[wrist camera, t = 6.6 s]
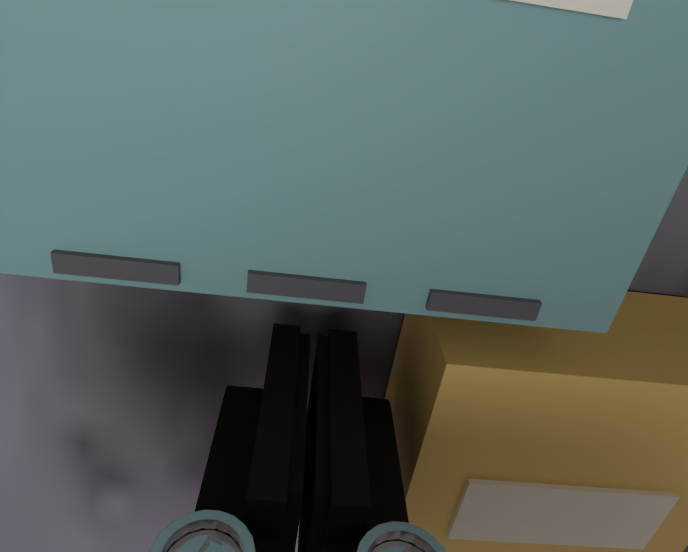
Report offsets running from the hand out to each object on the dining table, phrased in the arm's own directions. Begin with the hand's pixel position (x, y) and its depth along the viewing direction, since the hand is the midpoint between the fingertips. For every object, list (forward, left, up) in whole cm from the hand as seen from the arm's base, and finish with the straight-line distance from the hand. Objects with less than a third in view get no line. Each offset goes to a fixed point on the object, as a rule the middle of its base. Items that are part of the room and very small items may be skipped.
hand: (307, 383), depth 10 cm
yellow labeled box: (-5, 0, -1) cm, 5 cm away
